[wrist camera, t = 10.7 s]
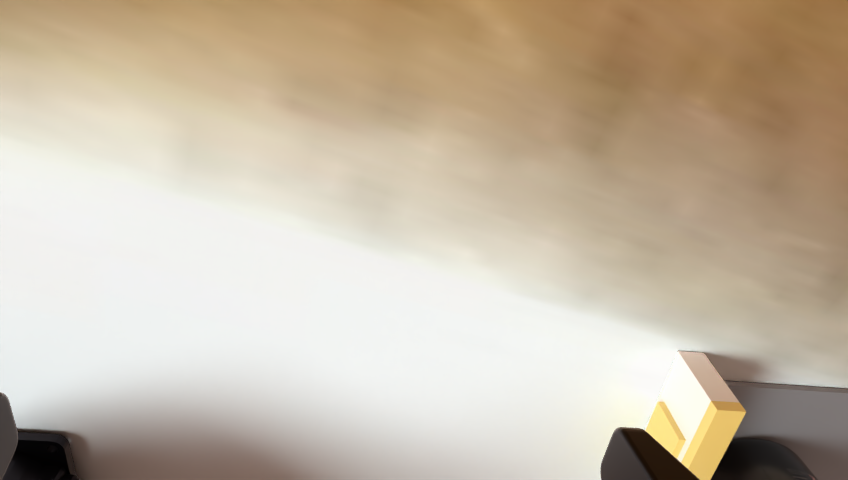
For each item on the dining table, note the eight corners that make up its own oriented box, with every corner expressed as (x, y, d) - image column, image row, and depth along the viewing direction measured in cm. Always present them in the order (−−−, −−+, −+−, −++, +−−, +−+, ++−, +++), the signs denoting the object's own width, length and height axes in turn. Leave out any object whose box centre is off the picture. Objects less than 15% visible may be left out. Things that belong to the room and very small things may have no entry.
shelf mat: (623, 545, 32) (625, 551, 32) (700, 379, 26) (703, 384, 26) (792, 551, 33) (795, 556, 33) (900, 392, 27) (905, 396, 27)
